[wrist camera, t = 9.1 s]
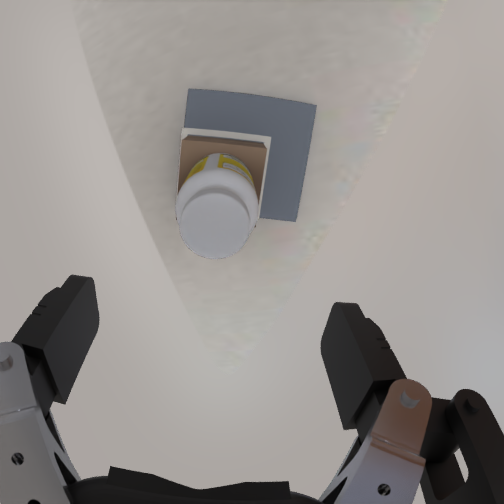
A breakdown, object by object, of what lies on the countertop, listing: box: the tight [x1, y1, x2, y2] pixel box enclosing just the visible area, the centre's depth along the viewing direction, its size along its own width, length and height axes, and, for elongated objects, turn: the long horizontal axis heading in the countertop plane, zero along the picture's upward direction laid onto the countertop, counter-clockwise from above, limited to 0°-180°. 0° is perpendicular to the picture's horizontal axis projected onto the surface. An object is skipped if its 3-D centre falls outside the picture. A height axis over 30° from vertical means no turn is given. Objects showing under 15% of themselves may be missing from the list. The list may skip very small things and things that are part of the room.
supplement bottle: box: [175, 153, 259, 259], centre depth 22 cm, size 5×5×10 cm
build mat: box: [176, 89, 317, 222], centre depth 30 cm, size 12×12×1 cm
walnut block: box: [176, 135, 267, 227], centre depth 28 cm, size 7×7×4 cm
